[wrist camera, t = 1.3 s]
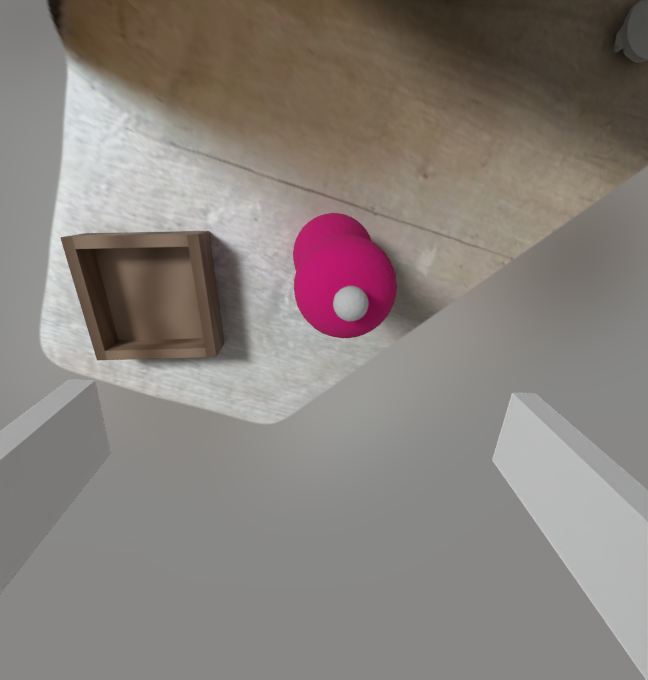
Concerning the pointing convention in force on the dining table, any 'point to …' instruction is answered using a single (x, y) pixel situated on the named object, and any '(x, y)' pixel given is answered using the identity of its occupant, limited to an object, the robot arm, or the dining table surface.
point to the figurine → (634, 33)
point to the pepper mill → (342, 277)
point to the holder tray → (147, 293)
